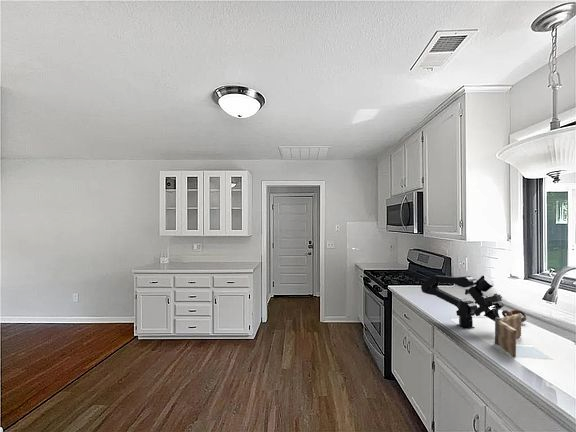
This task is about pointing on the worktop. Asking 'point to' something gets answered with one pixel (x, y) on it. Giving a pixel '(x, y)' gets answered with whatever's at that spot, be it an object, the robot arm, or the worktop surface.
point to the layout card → (526, 351)
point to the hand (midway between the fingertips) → (501, 323)
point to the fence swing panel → (514, 322)
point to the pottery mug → (514, 314)
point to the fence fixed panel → (505, 336)
